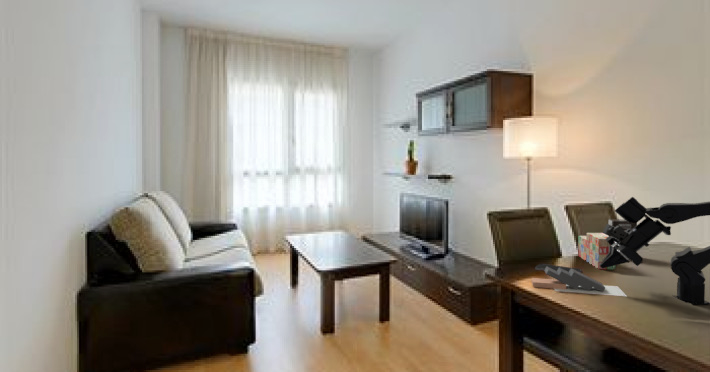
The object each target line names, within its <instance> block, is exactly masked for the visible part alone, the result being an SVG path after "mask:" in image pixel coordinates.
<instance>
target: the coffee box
mask: <svg viewBox="0 0 710 372" xmlns="http://www.w3.org/2000/svg"><path fill="white" fill-rule="evenodd" d="M608 224H609V225H611V226H614V227H616V226H620V227H622V228H624V231H626V230H627V229H631V230H632V229H633V228H634V227H635V226H637V225H638V222H637V223H636V224H634V223H632V222H631V223H628V222H627V221H626V220H624V219H617V218H616V219H611V218H610V219H608Z"/></svg>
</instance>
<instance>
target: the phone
mask: <svg viewBox="0 0 710 372" xmlns="http://www.w3.org/2000/svg"><path fill="white" fill-rule="evenodd" d="M546 266H547V267H549V268H551V269H553V270H555V271H557V270H558V268H559V267H560V268H562V269H563V270H565V271H567V272H569V271H570V269H571V268H572V269H574V270H576V271H578V272H580V273H582V269H580V268H576V267H575V268H574V267H567V266H562V265H561V266H560V265H555V264H554V265H553V264H547V263H539V264H538V265H536V266H535V267H534V268H535V269H534V270H537V271H545V268H546Z"/></svg>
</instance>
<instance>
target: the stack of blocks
mask: <svg viewBox="0 0 710 372" xmlns="http://www.w3.org/2000/svg"><path fill="white" fill-rule="evenodd" d="M607 237H609V236H608V235H606V234H604V233H603V232H586V235H578V236H577V239H578V240H577V243H578V246H577V247H578V248H577V249H578V250H577V251H578V257H580V259H582V260H584V261H585V260H586V261H585V262H587V263H588V262H589V264H590V265H591V264H592V266H593V267H594V266H595V267H594V268H596V269H597V268H598V270H613V269H615V270H616V267H617V265H614V266H610V267H606V268H602V267H600V264H601V263H602V261H603V260H604V258H605V257H606V255H607V254H608V252H609V246H608V244H609V243H608V242H607V241H606V240H605V239H606V238H607ZM609 245H610V244H609Z"/></svg>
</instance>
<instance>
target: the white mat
mask: <svg viewBox="0 0 710 372" xmlns="http://www.w3.org/2000/svg"><path fill="white" fill-rule="evenodd" d="M603 286H604V287H605V289H604V291H603V292H602V291H600V290H598V289H596V288H594V287H592V288H591V290H590V291H589V290H587V289H585V288H583V287H581V286H578V288H577V289H574V288H572V287H570V286H568V285H566V289H555V288H553V290H554V292H562V293H577V294H590V295H605V296H616V297H617V296H618V297H627V294H625V292H624V291H623V290H622V289H621V288H620V287H619V286H617V285H605V284H603Z"/></svg>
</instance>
